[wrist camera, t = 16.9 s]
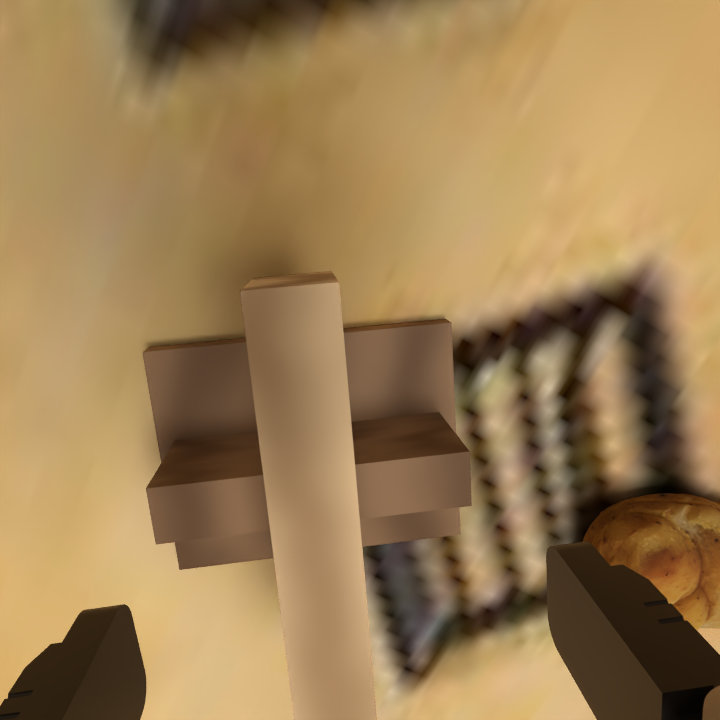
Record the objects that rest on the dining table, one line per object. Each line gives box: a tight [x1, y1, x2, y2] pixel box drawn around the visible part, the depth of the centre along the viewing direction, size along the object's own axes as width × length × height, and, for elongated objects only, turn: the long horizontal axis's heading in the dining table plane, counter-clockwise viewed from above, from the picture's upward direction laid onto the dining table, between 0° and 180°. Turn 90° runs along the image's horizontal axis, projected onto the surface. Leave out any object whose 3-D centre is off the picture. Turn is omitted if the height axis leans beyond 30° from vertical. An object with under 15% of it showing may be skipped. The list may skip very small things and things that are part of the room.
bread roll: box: [582, 493, 720, 630], centre depth 37 cm, size 13×10×8 cm
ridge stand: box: [143, 319, 472, 570], centre depth 32 cm, size 18×14×8 cm
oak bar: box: [240, 271, 377, 720], centre depth 25 cm, size 4×22×6 cm, turn 5°
